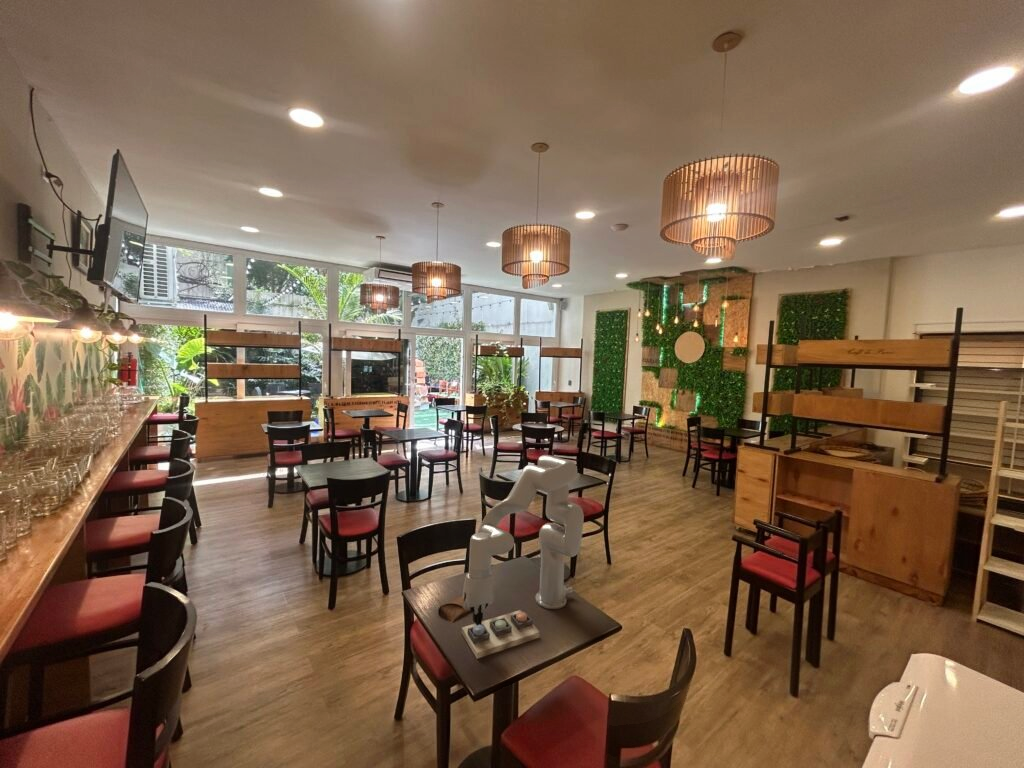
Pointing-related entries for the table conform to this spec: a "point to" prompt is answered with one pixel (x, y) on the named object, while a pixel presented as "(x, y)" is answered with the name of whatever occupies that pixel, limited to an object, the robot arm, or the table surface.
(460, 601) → the sunglasses case
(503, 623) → the sage button
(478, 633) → the slate button
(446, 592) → the table surface
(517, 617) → the terracotta button
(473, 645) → the button panel
